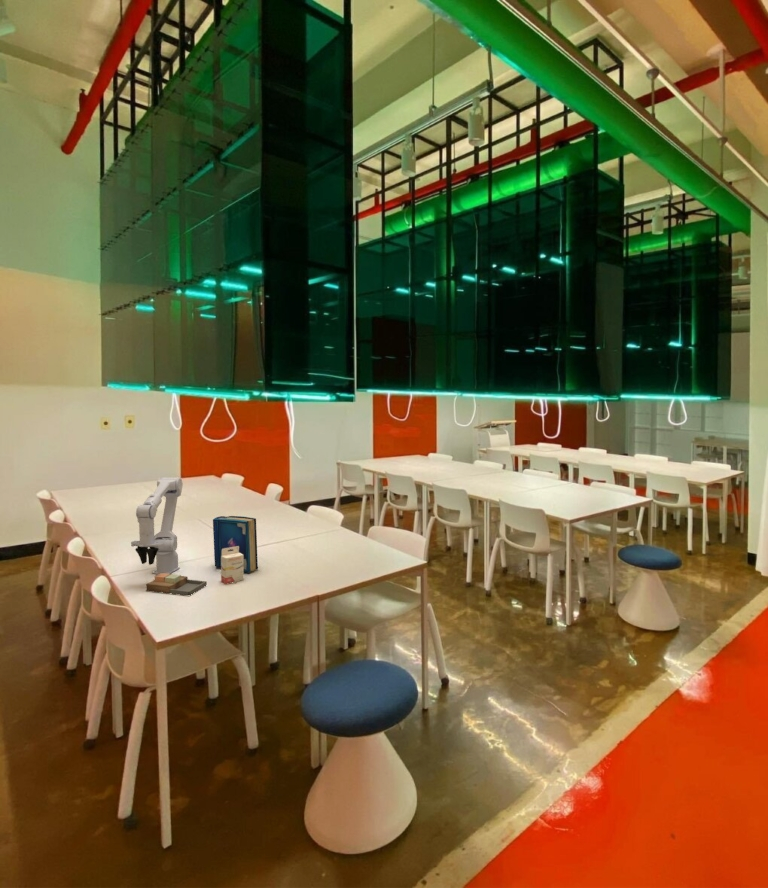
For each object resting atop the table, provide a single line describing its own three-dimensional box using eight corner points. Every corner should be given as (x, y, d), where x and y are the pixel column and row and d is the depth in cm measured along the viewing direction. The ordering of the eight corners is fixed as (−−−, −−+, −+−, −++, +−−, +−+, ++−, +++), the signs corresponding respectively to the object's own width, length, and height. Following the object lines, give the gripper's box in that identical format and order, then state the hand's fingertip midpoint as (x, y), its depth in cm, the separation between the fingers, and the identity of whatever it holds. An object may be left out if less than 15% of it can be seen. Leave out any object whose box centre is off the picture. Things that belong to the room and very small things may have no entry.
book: (211, 568, 232) (210, 516, 230) (221, 563, 239) (220, 513, 237) (249, 574, 224) (248, 521, 222) (258, 569, 231) (258, 517, 229)
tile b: (171, 578, 210) (171, 574, 210) (181, 579, 209) (180, 575, 209) (164, 582, 206) (164, 577, 205) (174, 583, 205) (174, 578, 204)
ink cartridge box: (225, 584, 212) (225, 551, 211) (220, 581, 216) (220, 548, 214) (244, 580, 217) (243, 547, 216) (239, 577, 221) (239, 545, 220)
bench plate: (165, 580, 215) (165, 574, 215) (187, 583, 213) (187, 576, 212) (146, 591, 204) (146, 584, 203) (169, 593, 201) (169, 586, 201)
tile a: (161, 577, 211) (161, 572, 211) (170, 578, 210) (170, 573, 210) (154, 581, 207) (154, 576, 207) (163, 582, 206) (163, 577, 206)
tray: (188, 583, 213) (188, 579, 213) (206, 585, 211) (206, 581, 210) (170, 593, 201) (170, 589, 201) (189, 596, 199) (189, 591, 199)
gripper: (125, 533, 206) (126, 565, 207) (155, 536, 203) (155, 568, 204) (137, 529, 213) (138, 559, 214) (166, 532, 210) (167, 562, 211)
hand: (147, 563), depth 210 cm, fingers open, 3 cm apart
